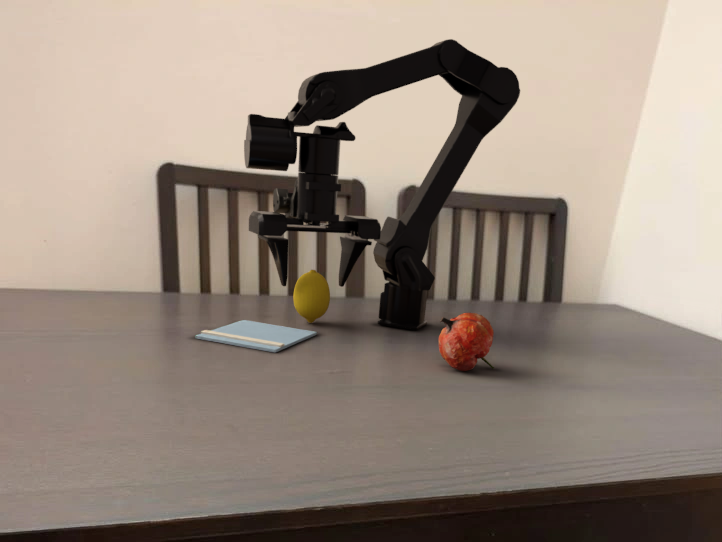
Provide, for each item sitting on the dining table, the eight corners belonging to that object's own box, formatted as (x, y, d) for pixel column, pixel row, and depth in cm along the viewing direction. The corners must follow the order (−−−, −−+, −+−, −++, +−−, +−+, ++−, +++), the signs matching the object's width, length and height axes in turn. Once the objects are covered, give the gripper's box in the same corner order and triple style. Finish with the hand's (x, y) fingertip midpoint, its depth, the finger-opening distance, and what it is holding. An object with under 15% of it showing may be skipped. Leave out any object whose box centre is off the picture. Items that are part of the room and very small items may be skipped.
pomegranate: (471, 376, 99) (419, 328, 96) (511, 338, 96) (459, 287, 93) (477, 398, 93) (421, 347, 89) (520, 358, 90) (464, 304, 87)
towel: (316, 334, 105) (317, 329, 105) (275, 352, 94) (275, 347, 93) (243, 322, 108) (243, 317, 108) (195, 338, 97) (194, 333, 97)
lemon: (288, 318, 113) (290, 266, 110) (323, 319, 115) (326, 267, 112) (296, 326, 108) (299, 271, 105) (332, 327, 110) (336, 273, 107)
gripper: (355, 175, 114) (348, 277, 120) (238, 166, 106) (237, 276, 112) (386, 179, 104) (377, 290, 111) (261, 170, 97) (258, 289, 103)
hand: (312, 286), depth 109 cm, fingers open, 9 cm apart
